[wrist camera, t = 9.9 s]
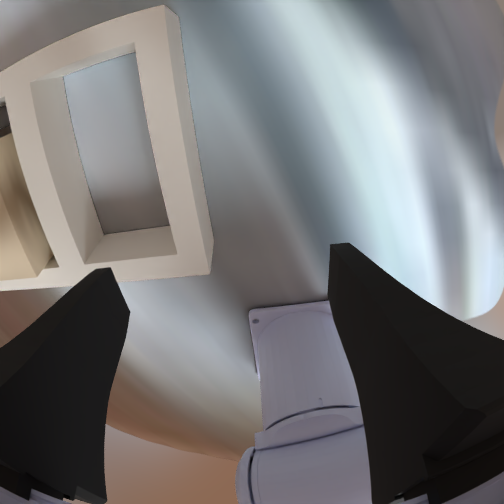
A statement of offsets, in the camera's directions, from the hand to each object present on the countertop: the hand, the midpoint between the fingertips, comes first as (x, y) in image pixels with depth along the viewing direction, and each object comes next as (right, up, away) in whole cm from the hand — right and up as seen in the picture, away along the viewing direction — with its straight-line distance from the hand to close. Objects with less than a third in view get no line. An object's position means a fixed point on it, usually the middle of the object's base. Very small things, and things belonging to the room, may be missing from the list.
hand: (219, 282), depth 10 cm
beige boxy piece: (-15, +6, +7) cm, 17 cm away
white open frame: (-11, +7, +6) cm, 14 cm away
